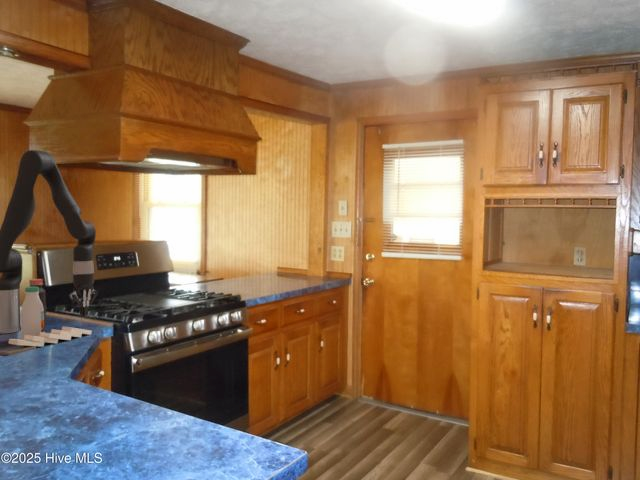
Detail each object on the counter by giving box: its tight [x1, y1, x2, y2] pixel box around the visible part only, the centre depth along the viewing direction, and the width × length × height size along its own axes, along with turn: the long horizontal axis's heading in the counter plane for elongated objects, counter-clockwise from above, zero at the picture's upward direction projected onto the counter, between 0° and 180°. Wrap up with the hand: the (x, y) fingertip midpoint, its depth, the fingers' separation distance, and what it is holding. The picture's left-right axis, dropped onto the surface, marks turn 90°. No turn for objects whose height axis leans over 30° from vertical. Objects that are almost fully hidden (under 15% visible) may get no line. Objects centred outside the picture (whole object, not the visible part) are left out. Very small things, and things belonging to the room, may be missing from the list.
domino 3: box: [24, 335, 59, 344], centre depth 192 cm, size 2×5×10 cm
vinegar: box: [28, 278, 47, 328], centre depth 223 cm, size 7×7×20 cm
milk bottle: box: [20, 286, 45, 340], centre depth 201 cm, size 8×8×20 cm
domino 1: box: [0, 345, 37, 357], centre depth 184 cm, size 2×5×10 cm
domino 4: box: [39, 331, 72, 341], centre depth 197 cm, size 2×5×10 cm
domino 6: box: [61, 326, 93, 336], centre depth 207 cm, size 2×5×10 cm
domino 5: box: [50, 328, 83, 338], centre depth 202 cm, size 2×5×10 cm
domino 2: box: [8, 338, 45, 347], centre depth 188 cm, size 2×5×10 cm
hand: (83, 315), depth 209 cm, fingers closed
